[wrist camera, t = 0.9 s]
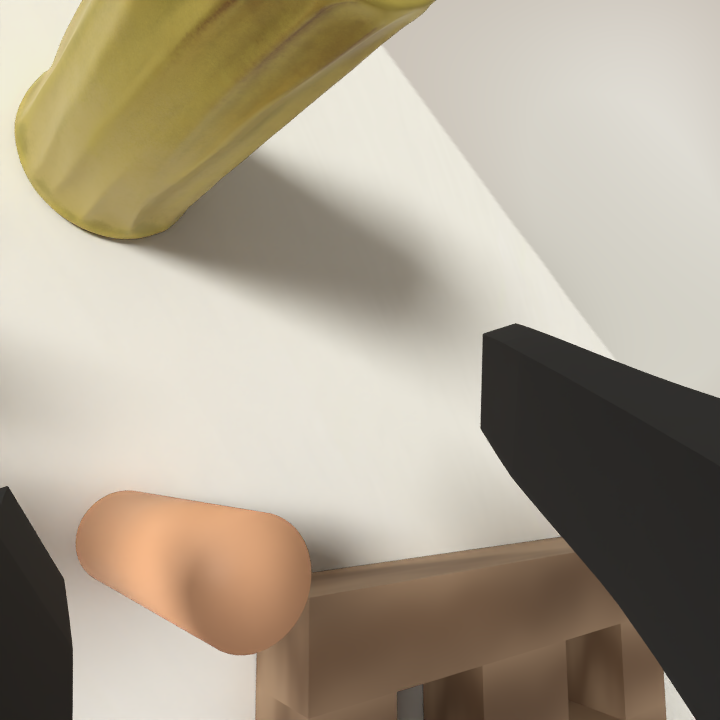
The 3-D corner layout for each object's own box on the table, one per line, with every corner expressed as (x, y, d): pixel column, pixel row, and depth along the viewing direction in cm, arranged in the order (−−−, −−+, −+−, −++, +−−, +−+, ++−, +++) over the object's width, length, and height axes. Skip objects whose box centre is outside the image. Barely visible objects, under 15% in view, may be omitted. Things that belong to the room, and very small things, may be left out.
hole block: (607, 754, 36) (670, 780, 33) (251, 938, 22) (306, 1007, 20) (596, 531, 37) (655, 538, 34) (258, 580, 24) (309, 597, 21)
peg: (166, 577, 22) (310, 641, 15) (72, 590, 20) (186, 668, 13) (169, 488, 22) (312, 508, 15) (78, 492, 20) (191, 517, 13)
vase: (218, 139, 25) (509, -114, 14) (157, 273, 23) (439, 105, 12) (64, 30, 22) (277, -413, 11) (-23, 174, 20) (125, -187, 8)
